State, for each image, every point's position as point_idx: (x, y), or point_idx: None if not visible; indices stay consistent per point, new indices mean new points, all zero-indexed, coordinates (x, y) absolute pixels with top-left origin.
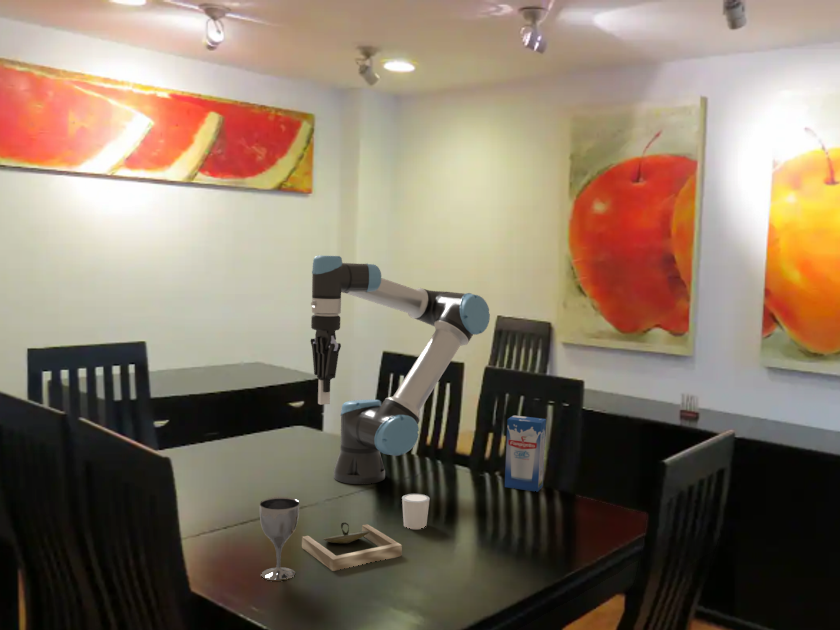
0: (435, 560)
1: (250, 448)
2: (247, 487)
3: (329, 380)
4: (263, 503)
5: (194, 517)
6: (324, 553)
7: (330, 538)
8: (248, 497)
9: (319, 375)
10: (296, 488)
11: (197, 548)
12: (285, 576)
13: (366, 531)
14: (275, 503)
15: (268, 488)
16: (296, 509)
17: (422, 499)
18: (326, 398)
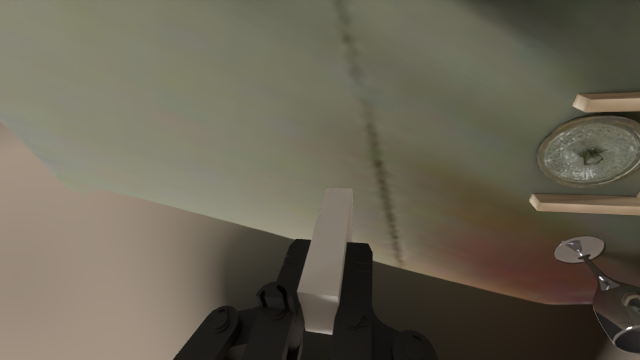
0: None
1: (23, 80)
2: (248, 164)
3: (374, 315)
4: (611, 339)
5: None
6: (624, 214)
7: (589, 187)
8: (294, 178)
9: (299, 354)
10: (272, 100)
11: (438, 273)
12: (598, 251)
13: (635, 129)
14: (615, 323)
15: (260, 140)
16: None
17: None
18: (350, 220)
